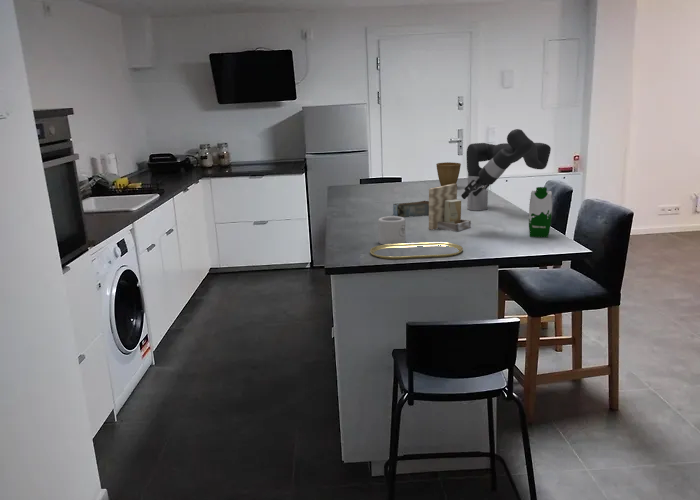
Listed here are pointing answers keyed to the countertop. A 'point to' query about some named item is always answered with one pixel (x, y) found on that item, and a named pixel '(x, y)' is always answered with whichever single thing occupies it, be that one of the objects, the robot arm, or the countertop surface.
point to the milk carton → (540, 212)
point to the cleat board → (443, 208)
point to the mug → (391, 230)
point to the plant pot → (448, 172)
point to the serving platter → (415, 246)
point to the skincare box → (452, 211)
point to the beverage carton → (411, 209)
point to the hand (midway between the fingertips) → (468, 196)
